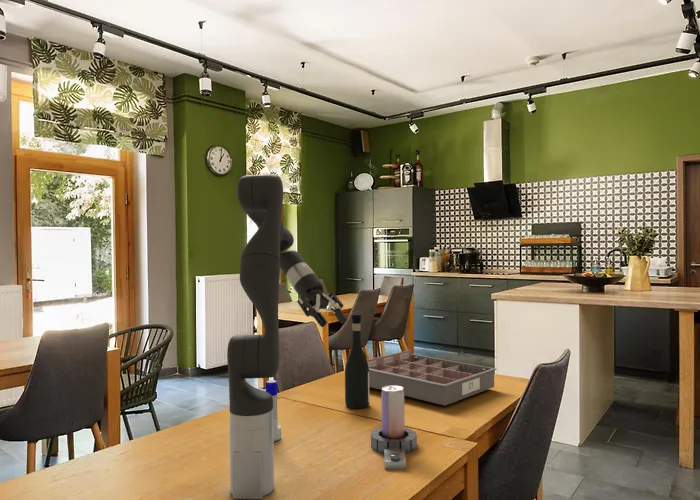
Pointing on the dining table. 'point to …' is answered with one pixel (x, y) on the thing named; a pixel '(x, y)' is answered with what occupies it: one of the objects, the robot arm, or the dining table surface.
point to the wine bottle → (356, 371)
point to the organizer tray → (429, 377)
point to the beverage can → (393, 412)
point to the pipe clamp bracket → (394, 447)
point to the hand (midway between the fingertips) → (334, 323)
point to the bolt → (274, 408)
